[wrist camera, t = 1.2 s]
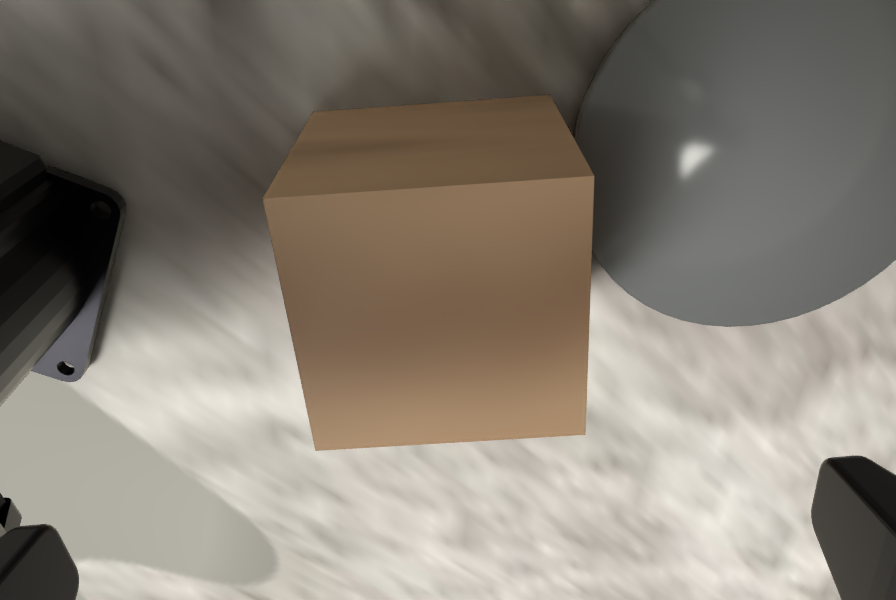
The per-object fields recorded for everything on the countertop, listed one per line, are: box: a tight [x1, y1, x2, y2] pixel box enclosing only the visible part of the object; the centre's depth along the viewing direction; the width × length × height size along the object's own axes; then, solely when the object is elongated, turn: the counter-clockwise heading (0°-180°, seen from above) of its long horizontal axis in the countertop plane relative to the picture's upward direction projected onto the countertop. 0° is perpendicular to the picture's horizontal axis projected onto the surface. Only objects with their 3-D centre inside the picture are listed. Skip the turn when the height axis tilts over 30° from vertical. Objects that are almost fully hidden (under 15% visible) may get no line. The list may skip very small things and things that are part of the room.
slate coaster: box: [573, 0, 896, 327], centre depth 18 cm, size 10×10×1 cm
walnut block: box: [263, 95, 594, 451], centre depth 17 cm, size 6×6×6 cm
